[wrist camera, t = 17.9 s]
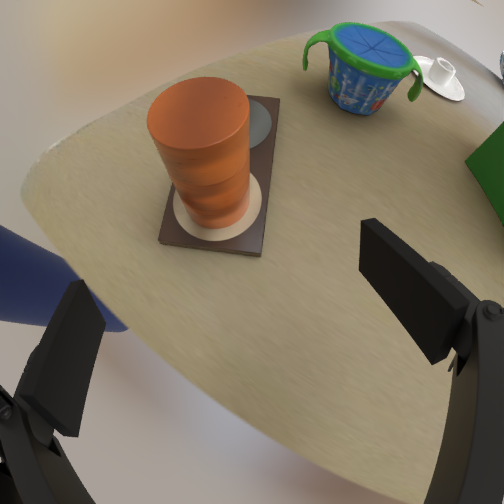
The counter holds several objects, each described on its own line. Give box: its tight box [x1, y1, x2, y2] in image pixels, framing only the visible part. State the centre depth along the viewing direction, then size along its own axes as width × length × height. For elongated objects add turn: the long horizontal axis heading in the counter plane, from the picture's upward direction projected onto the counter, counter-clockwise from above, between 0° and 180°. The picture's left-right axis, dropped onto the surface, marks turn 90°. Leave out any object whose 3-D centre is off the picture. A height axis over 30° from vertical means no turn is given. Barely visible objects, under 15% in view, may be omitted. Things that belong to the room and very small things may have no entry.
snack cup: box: [303, 22, 423, 115], centre depth 29 cm, size 16×10×10 cm
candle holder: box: [413, 56, 465, 101], centre depth 35 cm, size 12×12×4 cm
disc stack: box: [147, 77, 250, 229], centre depth 22 cm, size 6×6×13 cm
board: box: [158, 95, 280, 257], centre depth 30 cm, size 10×20×1 cm, turn 173°
